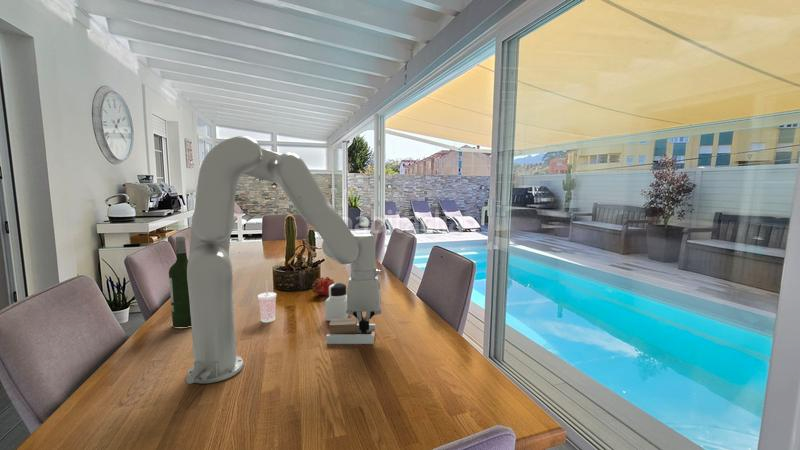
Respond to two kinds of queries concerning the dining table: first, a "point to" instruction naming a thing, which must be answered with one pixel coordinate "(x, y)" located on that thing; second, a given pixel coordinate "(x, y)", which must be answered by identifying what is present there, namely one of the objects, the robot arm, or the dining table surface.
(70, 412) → the dining table surface
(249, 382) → the dining table surface
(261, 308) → the beverage cup
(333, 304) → the medicine bottle
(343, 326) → the block
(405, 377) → the dining table surface
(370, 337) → the channel
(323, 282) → the dragon fruit
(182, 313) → the wine bottle
